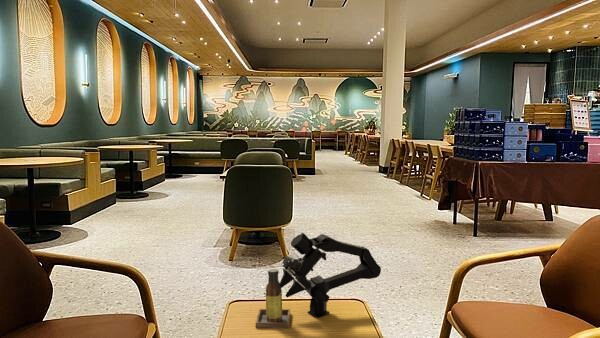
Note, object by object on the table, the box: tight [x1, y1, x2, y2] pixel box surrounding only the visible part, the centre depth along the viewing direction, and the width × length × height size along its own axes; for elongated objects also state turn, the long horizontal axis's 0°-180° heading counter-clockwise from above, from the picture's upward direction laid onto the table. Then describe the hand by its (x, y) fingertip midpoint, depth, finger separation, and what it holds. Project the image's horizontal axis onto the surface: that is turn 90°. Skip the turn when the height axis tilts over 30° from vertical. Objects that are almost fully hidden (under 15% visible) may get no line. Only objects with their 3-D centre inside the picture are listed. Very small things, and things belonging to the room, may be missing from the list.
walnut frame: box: [255, 308, 291, 329], centre depth 176 cm, size 12×12×2 cm
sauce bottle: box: [265, 268, 283, 322], centre depth 175 cm, size 7×6×20 cm
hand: (282, 292), depth 176 cm, fingers open, 9 cm apart
